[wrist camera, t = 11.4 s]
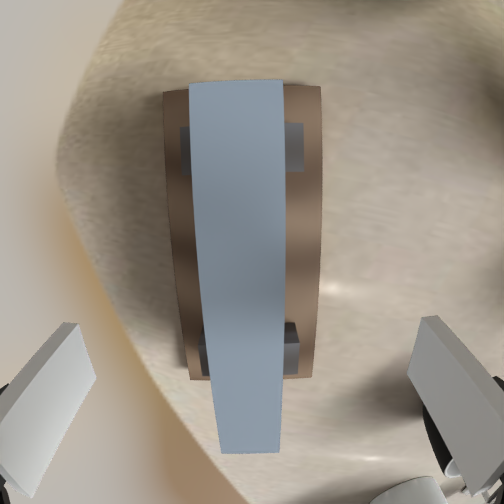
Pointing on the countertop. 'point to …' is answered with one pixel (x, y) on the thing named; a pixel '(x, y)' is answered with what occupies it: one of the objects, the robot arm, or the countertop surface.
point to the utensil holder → (413, 493)
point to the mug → (440, 447)
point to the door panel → (241, 253)
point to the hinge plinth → (297, 227)
